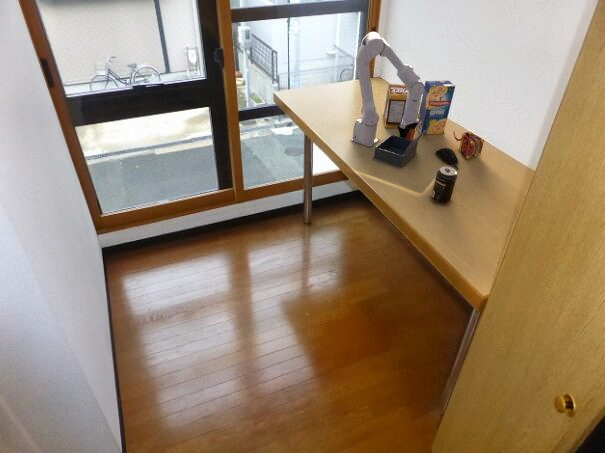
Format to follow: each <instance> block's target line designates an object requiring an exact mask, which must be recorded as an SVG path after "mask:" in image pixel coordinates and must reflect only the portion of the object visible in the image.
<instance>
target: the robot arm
mask: <svg viewBox="0 0 605 453" xmlns="http://www.w3.org/2000/svg"><path fill="white" fill-rule="evenodd" d="M377 56H379V57H382V58H383V57H385V58H386V59H387V60H388V61H389V62H390V63H391V64H392V66H393V67H394V68H395V69H396V76H397V77H398V79H400V81H401V82H402V83H403V85H405V86H406V87H407V88H408V89H409V90H410V91H408V95H407V100H406V105H405V110H404V116H403V118H402V122H401V124H399V125H398V127H397V128H396V129H397V130H398V134H399V135H398V136H399V137H402V138H405V139H406V138H407V135H408V133H409V131H410V130H411V129H414V130H415V131H416V126H417V125H418V123H419V122H420V120H419V119H418V115H419V110H420V106H421V101H422V96H423V93H424V91H425V89H424V86H425V83H423V81H422V80H421V77H420V75H417V73H416V72H415V71H414V67H413V66H412V65H409V64H407V63H405V64H404V63H403V61H402V60H401V58H400V57H399V56H398V55H397V53H396V52H395V51H394V49H393V48H392V47H391V45H390V44H389V43H388V42H387V41H386V40H385V39H384V38H383V37H381V36H380V34H379V33H378V32H376V31H371V32H369V33H367V34H366V35H365V36H364V37H363V39H362V40H361V43H360V46H359V50H358V51H357V54H356V56H355V61H356V69H357V75H358V82H359V87H360V94H361V103H362V108H361V115H362V117H361V119H357V120H355V122H354V125H353V131H352V139H351V142H355V143H358V144H362V145H364V146H367V147H372V146H373V145H374V144H376V143H377V142H379V138H376V136H377V130H378V123H379V120H380V116H379V114H378V111H377V107H376V105H375V100H374V93H373V85H372V78H371V70H370V63H371V61H372V60H373V59H374V58H376V57H377ZM407 125H408V126H407Z"/></svg>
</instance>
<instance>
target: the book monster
mask: <svg viewBox="0 0 605 453" xmlns="http://www.w3.org/2000/svg"><path fill="white" fill-rule="evenodd" d="M452 133H453V136H454V139H455V141H456V142H460V143H459V147H458V151H459V152H460V153H462V154H463V155H464V156H465V158H466V159H467V160H470V158H472V156H473V155H475V156H477V157H480V156H481V155H482V150H483V147H484V143H485V139H484V138H483V137H480V136H478V135H476V134H474V133H473V132H471V131H465V132H463V133H462V134H461V138H457V136H456V132H455V130H454V131H453V132H452Z"/></svg>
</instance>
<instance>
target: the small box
mask: <svg viewBox="0 0 605 453" xmlns="http://www.w3.org/2000/svg"><path fill="white" fill-rule="evenodd" d="M415 133H416V129H415V130H414V129H411V130H410V131H409V133H408V135H407V138H406V139H408V140H412V141H413V140H414V139H415V138H414V137H415Z"/></svg>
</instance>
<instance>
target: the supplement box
mask: <svg viewBox="0 0 605 453" xmlns="http://www.w3.org/2000/svg"><path fill="white" fill-rule="evenodd" d="M408 91H410V90H409V89H408V88H407V87H406V86H405V84H401V83H388V86H387V91H386V98H385V105H384V111H383V119H384V127H385V128H387V129H398V128H397V127H398V125H399V124H401V122H402V118H403V116H404V110H405V105H406V100H407V95H408ZM407 126H408V125H407Z"/></svg>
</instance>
